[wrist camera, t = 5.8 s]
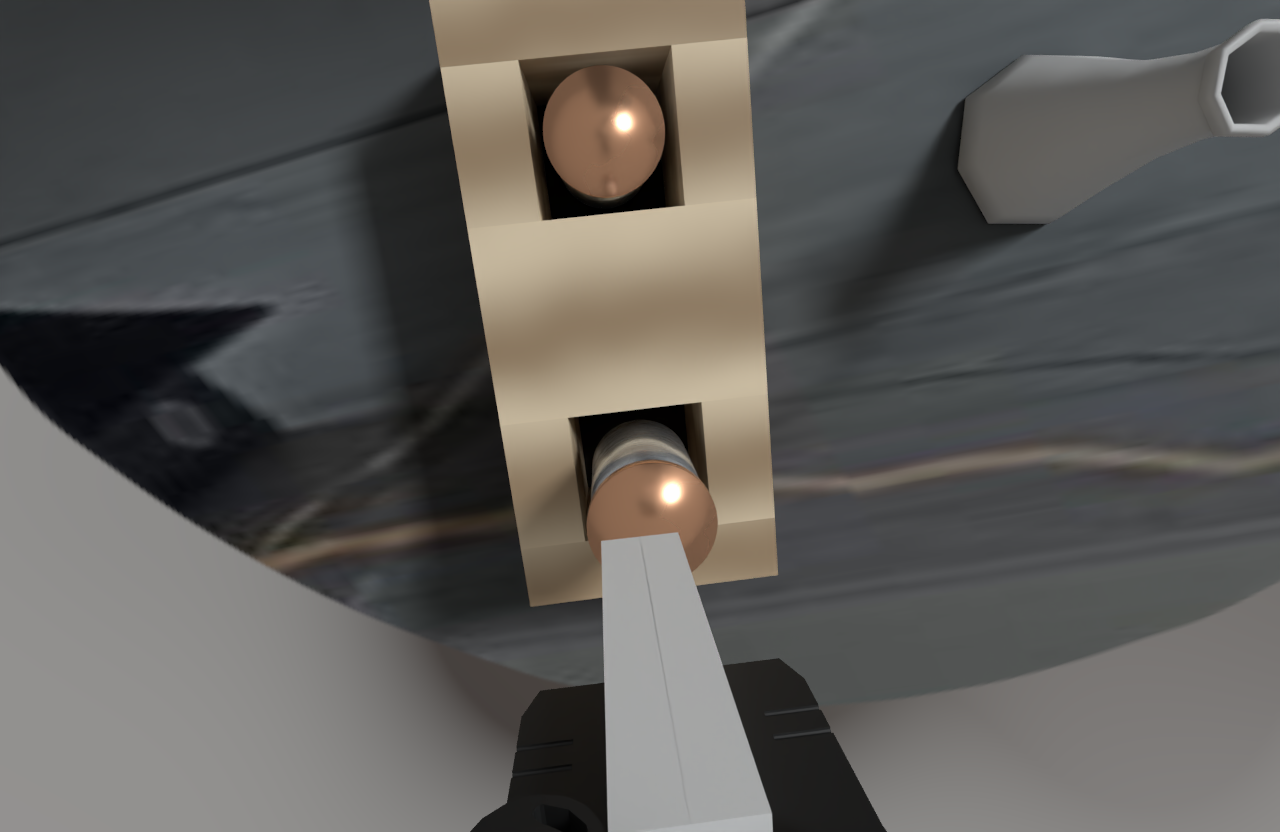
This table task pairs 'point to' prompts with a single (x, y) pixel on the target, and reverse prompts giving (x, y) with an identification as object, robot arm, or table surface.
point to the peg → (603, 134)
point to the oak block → (615, 268)
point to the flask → (1108, 120)
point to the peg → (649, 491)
